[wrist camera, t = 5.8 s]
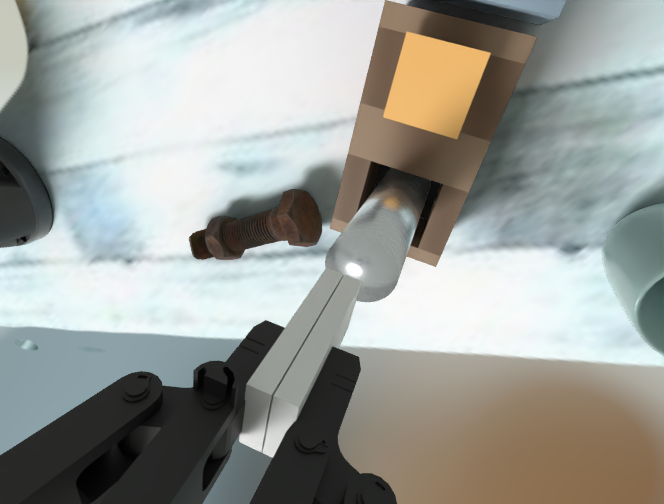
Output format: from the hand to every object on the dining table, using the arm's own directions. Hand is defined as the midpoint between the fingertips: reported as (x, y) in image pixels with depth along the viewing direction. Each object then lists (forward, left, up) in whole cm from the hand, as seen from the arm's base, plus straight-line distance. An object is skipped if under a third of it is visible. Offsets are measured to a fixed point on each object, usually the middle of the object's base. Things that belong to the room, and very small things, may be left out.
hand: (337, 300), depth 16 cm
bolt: (-14, -10, -21) cm, 27 cm away
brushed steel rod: (0, -1, -20) cm, 20 cm away
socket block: (0, +3, -20) cm, 20 cm away
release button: (0, +8, -19) cm, 20 cm away
